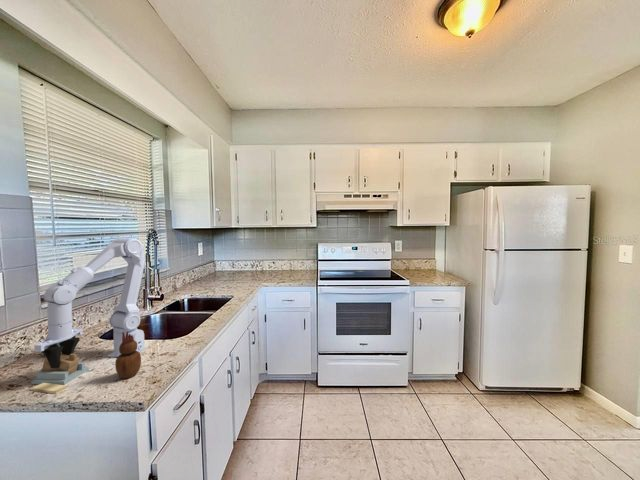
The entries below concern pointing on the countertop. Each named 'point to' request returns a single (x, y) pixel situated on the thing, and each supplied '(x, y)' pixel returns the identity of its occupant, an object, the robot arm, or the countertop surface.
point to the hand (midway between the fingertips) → (61, 364)
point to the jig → (59, 375)
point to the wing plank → (49, 388)
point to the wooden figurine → (128, 357)
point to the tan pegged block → (63, 364)
